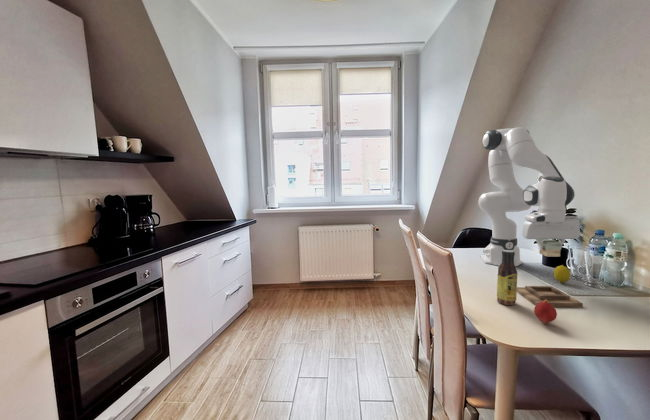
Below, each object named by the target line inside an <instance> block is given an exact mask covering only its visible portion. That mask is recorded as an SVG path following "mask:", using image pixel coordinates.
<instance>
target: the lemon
mask: <svg viewBox="0 0 650 420" xmlns="http://www.w3.org/2000/svg"><path fill="white" fill-rule="evenodd" d="M553 277H554V279H555V280H556V281H557V282H559V283H560V284H563V283H565V282H568V281H569V280H570V278H571V272H570V269H569V268H568V267H567V266H564V264H562V265H558V266H556V267H555V269H554V270H553Z"/></svg>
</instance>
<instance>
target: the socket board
mask: <svg viewBox="0 0 650 420" xmlns="http://www.w3.org/2000/svg"><path fill="white" fill-rule="evenodd" d="M517 294H519V295H520V296H521V297H522V298H524V299H525V300H527V301H528V302H529V303H530V304H532V305H534V307H535V306H536V305H537V304H538V303H540V302H542V301H544V300H548V303H550V304H551V305H552V306H553V307H554V308H583V302H581V301H579V300H578V299H576V298H574V297H573V296H570V295H569V294H567V293H566V292H563V291H562V290H560V289H558V288H556V287H554V286H552V285H551V286H550V285H545V286H544V285H540V286H539V285H538V286H537V285H525V287H524V286H522V287H519V286H517Z"/></svg>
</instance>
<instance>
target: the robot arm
mask: <svg viewBox="0 0 650 420" xmlns="http://www.w3.org/2000/svg"><path fill="white" fill-rule="evenodd" d="M481 141H482V142H481V143H482V146H483V149H485V150H487V151H489V153H488V161H487V163H488V173H489V180H490V183H491V184H492V185H493V186H495V187H497V188H499V189H500V190H501V191H489V192H486V193H485V192H484V193H482V194H481V195H480V196H479V198H478V201H477V203H478V207H479V209H480V210H481V211H483V212H484V213H485V214H486V215H487V216H488V217H489V220H490V222H491V228H492V229H491V231H492V236H491V237H490V241H489V242H490V243H489V244H488V245H487V246H485V248H484V249H483V254H480V256H481V257H480V256H479V257H480V258H481V260H482V261H483V262H484V264H488V265H494V266H497V267H499V266H500V264H501V263H502V250H512V251H514V252H515V255H514V265H515V267H519V265H521V264H522V265H523V263H524V262H523V261H522V260H521V254H520V253H521V249H520V248H519V247H518V238H517V230H518V229H517V228H518V227H517V223H516V222H515V220H512V219H511V218H508V217H507V215H506V213H515V212H523V211H528V210H529V209H530V208H531V207H538V210H536V211H533V212H532V213H528V214H526V215H524V219H525V221H524V223H523V224H522V234H521V235H522V237H523V238H524V239H526V240H535V242H536V243H537V245H538V246H537V247H538V248H537V249H538V250H540V249H541V250H542V249H545V248H544V247H545V245H542V243H541V242H542V240H545V239H553V240H557V241H559V242H561V250H562V247H563V245H564V244H565V242H566V240H569V239H571V240H575V239H576V240H577V239H579V238H580V236H581V230H580V218H578V217H577V216H575V215H566V213H567V208H566V207H567V206H568V205H569V204H571V202H572V201H573V200H574V199H575V190H574V188H573V187H572V186H571V185H570V184H569V183H568V182H567V181H566V179H565V178H564V176H563V175H562V174H561V172H560V171H559V169H558V168H557V166H556V165H555V163H554V161H553V160H552V159H551V158H550V157H549V156H548V155H547V154H545V153H544V152H542V151H541V150H540V149H539V148H538V147H537V146H536V143H535V141H534V140H533V137H532V136H531V133H530V131H529V130H528V129H526V128H524V127H522V126H521V127H520V126H517V127H514V128H512V127H511V128H499V129H491V130H487V131H486V132H485V133H484V134H483V137H482V140H481ZM513 164H515V165H516V166H519V167H523V168H527V169H532V170H534V171H537V172H539V173H541V174H542V176H543V177H541V179H540V180H539V181H538V182H536V183H534V184H529V185H528V186H526V187H525V188H524V189H523V188H522V187H521V186H520V185H519V184H518V182H517V180H516V177H515V173H514V169H513Z"/></svg>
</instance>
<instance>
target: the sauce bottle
mask: <svg viewBox="0 0 650 420" xmlns="http://www.w3.org/2000/svg"><path fill="white" fill-rule="evenodd" d="M514 255H515V252H514V251H512V250H502V263H501V264H500V266H498V267H497V280H496V281H497V282H496V285H497V286H496V301H497V302H498V303H499V304H500V305H501V304H502V305H504V306H505V305H506V306H514V305H516V301H517V294H518V293H517V287H518V271H517V268H516V266H515V265H514Z"/></svg>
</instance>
